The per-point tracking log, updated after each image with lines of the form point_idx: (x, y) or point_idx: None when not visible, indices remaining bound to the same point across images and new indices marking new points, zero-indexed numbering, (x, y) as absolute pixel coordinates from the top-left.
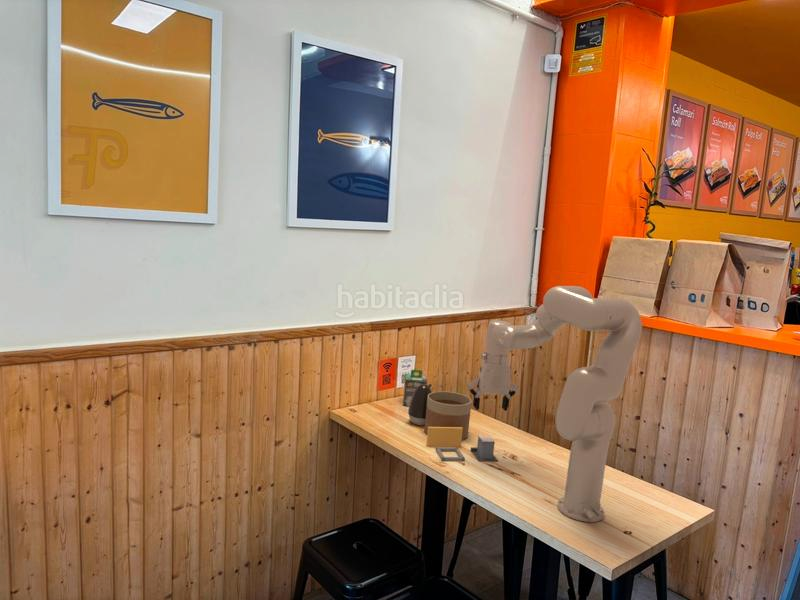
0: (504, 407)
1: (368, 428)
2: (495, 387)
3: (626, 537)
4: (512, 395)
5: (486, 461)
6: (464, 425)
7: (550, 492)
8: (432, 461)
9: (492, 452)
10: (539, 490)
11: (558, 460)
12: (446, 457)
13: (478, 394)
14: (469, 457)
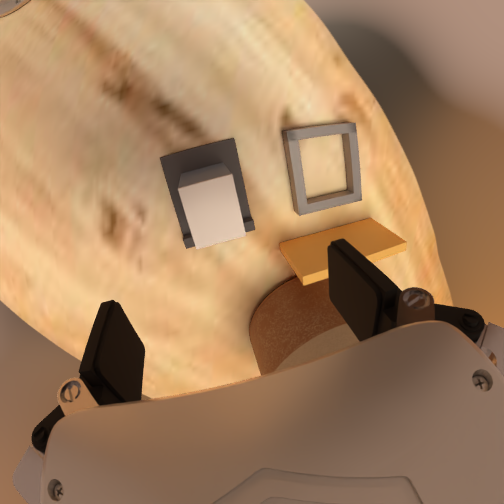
0: (118, 322)
1: (441, 281)
2: (278, 480)
3: None
4: (52, 414)
5: (205, 146)
6: (280, 324)
7: (49, 18)
8: (370, 125)
9: (183, 177)
10: (73, 13)
11: (8, 245)
12: (343, 128)
13: (418, 317)
14: (260, 175)
